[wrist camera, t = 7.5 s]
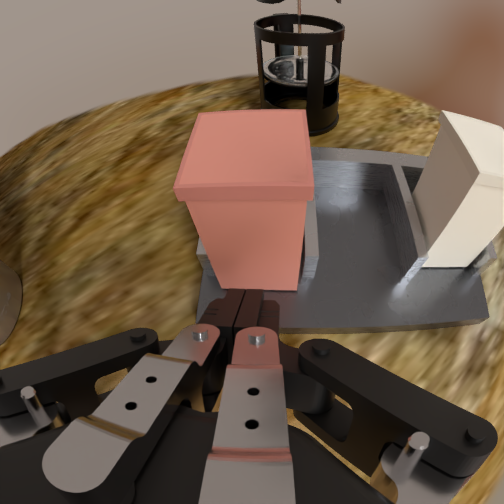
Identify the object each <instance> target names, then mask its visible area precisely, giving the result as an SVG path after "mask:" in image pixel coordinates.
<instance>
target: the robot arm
mask: <svg viewBox="0 0 504 504" xmlns="http://www.w3.org/2000/svg"><path fill="white" fill-rule="evenodd" d="M21 300H22V286H21V281H20V278H19V276H18V274H17V273H16V272H15V271H13V270H12V269H11V268H10V267H8V266H7V265H6V264H5V263H4V262H2V261H1V260H0V344H2V343H3V342H4V341H5V340H6V339H7V338H8V336H9V335H10V333H11V331H12V330H13V328H14V326H15V323H16V321H17V318H18V315H19V312H20V307H21ZM279 317H280V305H279V304H278V303H277V302H276V301H275V300H264V289H247V290H246V289H238V288H229V289H228V292H227V294H226V296H225V298H224V299H221V298H217V299H215V300H213V301H212V302H210V303H209V305H208V306H207V308H206V310H205V311H204V314H203V315H202V316H201V318H200V320H199V322H198V323H197V324H194V325H190V326H188V327H186V328H184V329H183V330H182V331H181V332H180V333H179V334H178V336H177V337H176V338H175V339H174V340H167V341H158V336H157V333H156V332H155V331H154V330H152V329H148V328H136V329H131V330H128V331H125V332H122V333H119V334H116V335H113V336H110V337H107V338H104V339H101V340H98V341H95V342H92V343H88V344H85V345H82V346H79V347H76V348H73V349H70V350H66V351H63V352H60V353H57V354H53V355H50V356H47V357H43V358H40V359H37V360H33V361H30V362H27V363H23V364H20V365H16V366H13V367H9V368H6V369H2V370H0V504H449V502H450V501H451V500H452V498H453V497H454V496H455V495H456V494H457V493H458V492H459V491H460V490H461V489H462V488H463V487H464V485H465V484H466V483H467V482H468V481H469V480H470V479H471V477H472V476H473V475H474V474H475V473H476V471H477V470H478V469H479V468H480V466H481V465H482V464H483V463H484V461H485V460H486V459H487V457H488V456H489V455H490V453H491V452H492V451H493V449H494V448H495V446H496V444H497V440H498V436H497V432H496V430H495V428H494V426H493V425H492V424H491V423H490V422H488V421H487V420H485V419H483V418H481V417H479V416H477V415H475V414H472V413H470V412H468V411H466V410H464V409H462V408H460V407H458V406H456V405H454V404H452V403H450V402H448V401H446V400H444V399H442V398H440V397H438V396H436V395H434V394H432V393H430V392H428V391H426V390H424V389H422V388H420V387H418V386H416V385H414V384H412V383H410V382H408V381H407V380H405V379H403V378H401V377H399V376H397V375H395V374H393V373H391V372H389V371H388V370H386V369H384V368H382V367H380V366H378V365H376V364H374V363H373V362H371V361H369V360H367V359H365V358H363V357H362V356H360V355H358V354H356V353H354V352H352V351H351V350H349V349H347V348H345V347H343V346H342V345H340V344H338V343H336V342H334V341H331V340H328V339H311V340H308V341H305V342H304V343H302V344H301V345H300V347H299V349H298V348H294V347H290V346H288V345H285V344H284V343H282V342H281V341H280V339H279ZM124 368H127V371H128V374H127V375H126V376H125V377H124V379H123V380H122V381H121V382H120V383H119V384H118V385H117V386H116V388H115V389H113V390H111V391H108V392H106V393H103V394H100V395H97V393H96V391H95V387H94V386H95V382H96V381H97V380H98V379H99V378H100V377H103V376H106V375H108V374H111V373H114V372H116V371H119V370H122V369H124ZM335 394H336V395H337V396H339V397H340V398H342V399H343V400H345V401H346V402H348V403H349V405H350V406H351V408H352V410H351V409H350V408H348V407H347V406H345V405H344V404H342V403H341V402H339V401H338V400H337V399H335ZM56 402H58V403H56ZM286 408H289V409H293V413H294V416H295V418H296V419H297V420H298V421H300V422H301V423H302V424H303V425H304V426H305V427H307V428H308V429H309V430H310V431H311V432H313V433H314V434H315V435H316V436H317V437H319V438H320V439H321V440H322V441H324V442H325V443H326V444H327V445H328V446H330V447H331V448H332V449H334V450H335V451H336V452H337V453H339V454H340V455H341V456H342V457H344V458H345V459H346V460H348V461H349V462H350V463H352V464H353V465H354V466H356V467H357V468H358V469H360V470H361V471H362V472H364V473H365V474H366V475H368V476H369V477H371V479H370V485H369V484H368V483H367V482H366V481H364V480H363V479H362V478H361V477H359V476H358V475H357V474H356V473H354V472H353V471H352V470H351V469H349V468H348V467H347V466H346V465H345V464H343V463H342V462H341V461H340V460H339V459H338V458H336V457H335V456H334V455H333V454H332V453H331V452H329V451H328V450H327V449H326V448H325V447H324V446H323V445H321V444H320V443H319V442H318V441H317V440H316V439H315V438H313V437H312V436H311V435H309V434H308V433H306V432H304V431H302V430H301V429H298V428H296V427H294V426H291V425H288V424H287V412H286ZM218 409H219V412H217V411H218Z"/></svg>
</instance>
